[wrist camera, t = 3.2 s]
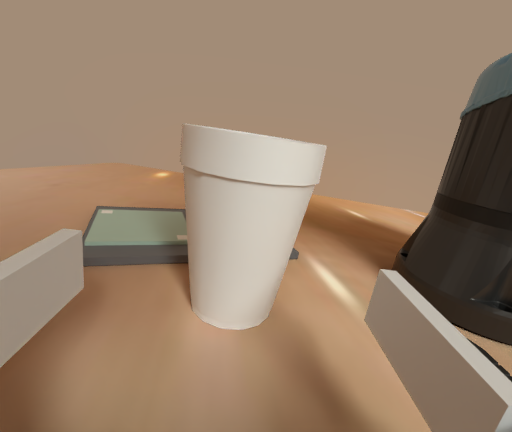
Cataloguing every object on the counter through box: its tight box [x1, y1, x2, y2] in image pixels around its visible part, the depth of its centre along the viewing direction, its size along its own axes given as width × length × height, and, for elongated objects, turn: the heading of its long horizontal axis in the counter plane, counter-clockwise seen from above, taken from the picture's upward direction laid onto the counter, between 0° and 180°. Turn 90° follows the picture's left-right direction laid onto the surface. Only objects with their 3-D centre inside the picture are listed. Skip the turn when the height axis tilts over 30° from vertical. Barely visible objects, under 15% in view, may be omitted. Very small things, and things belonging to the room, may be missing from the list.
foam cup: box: [180, 124, 327, 330], centre depth 21 cm, size 10×9×13 cm
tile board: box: [82, 206, 299, 266], centre depth 35 cm, size 22×15×1 cm
